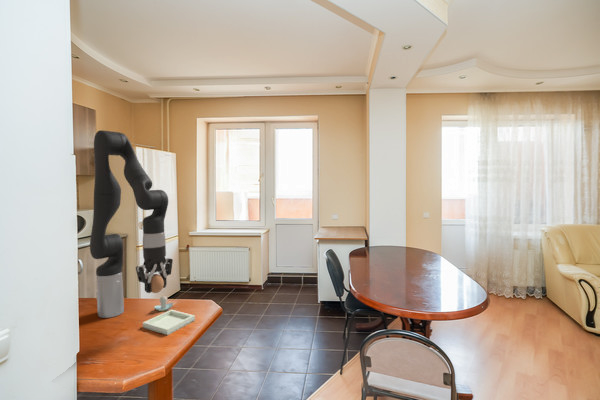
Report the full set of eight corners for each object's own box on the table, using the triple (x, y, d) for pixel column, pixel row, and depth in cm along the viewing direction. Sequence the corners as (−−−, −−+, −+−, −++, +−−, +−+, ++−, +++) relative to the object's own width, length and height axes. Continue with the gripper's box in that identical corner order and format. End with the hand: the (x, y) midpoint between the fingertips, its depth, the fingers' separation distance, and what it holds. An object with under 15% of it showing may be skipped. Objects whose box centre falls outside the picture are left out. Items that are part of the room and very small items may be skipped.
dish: (143, 327, 119) (142, 322, 119) (171, 314, 131) (171, 309, 131) (167, 335, 113) (167, 329, 113) (194, 320, 125) (194, 315, 125)
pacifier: (153, 309, 137) (154, 313, 132) (153, 294, 137) (154, 299, 131) (172, 305, 140) (173, 310, 135) (171, 291, 140) (172, 295, 135)
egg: (146, 295, 113) (145, 276, 113) (150, 290, 119) (149, 272, 118) (162, 294, 114) (161, 275, 114) (165, 289, 120) (164, 271, 119)
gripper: (164, 240, 123) (165, 282, 124) (129, 247, 111) (131, 294, 112) (177, 242, 120) (178, 285, 121) (142, 249, 107) (144, 298, 108)
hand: (156, 289), depth 116 cm, fingers closed on egg, 5 cm apart
